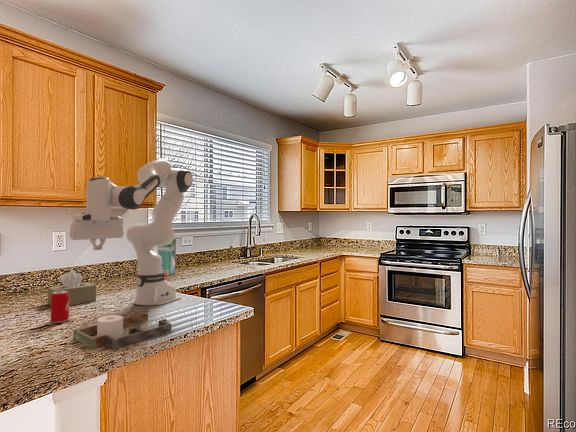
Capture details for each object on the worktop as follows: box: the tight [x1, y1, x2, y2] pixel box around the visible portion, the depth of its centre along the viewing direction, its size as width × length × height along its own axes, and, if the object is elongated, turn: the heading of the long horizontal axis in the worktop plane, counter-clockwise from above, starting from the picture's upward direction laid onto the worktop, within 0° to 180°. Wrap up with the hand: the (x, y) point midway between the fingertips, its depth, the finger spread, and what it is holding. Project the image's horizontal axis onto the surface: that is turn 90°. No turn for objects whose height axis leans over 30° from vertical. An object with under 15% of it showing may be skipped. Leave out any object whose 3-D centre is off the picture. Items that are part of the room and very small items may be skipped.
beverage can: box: [50, 291, 70, 324], centre depth 143 cm, size 6×6×12 cm
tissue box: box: [47, 269, 97, 307], centre depth 172 cm, size 19×10×16 cm, turn 138°
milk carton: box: [157, 238, 177, 276], centre depth 251 cm, size 9×9×25 cm
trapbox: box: [73, 312, 173, 350], centre depth 129 cm, size 28×20×3 cm
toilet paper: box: [96, 314, 124, 339], centre depth 127 cm, size 8×11×7 cm
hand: (97, 249), depth 144 cm, fingers closed
